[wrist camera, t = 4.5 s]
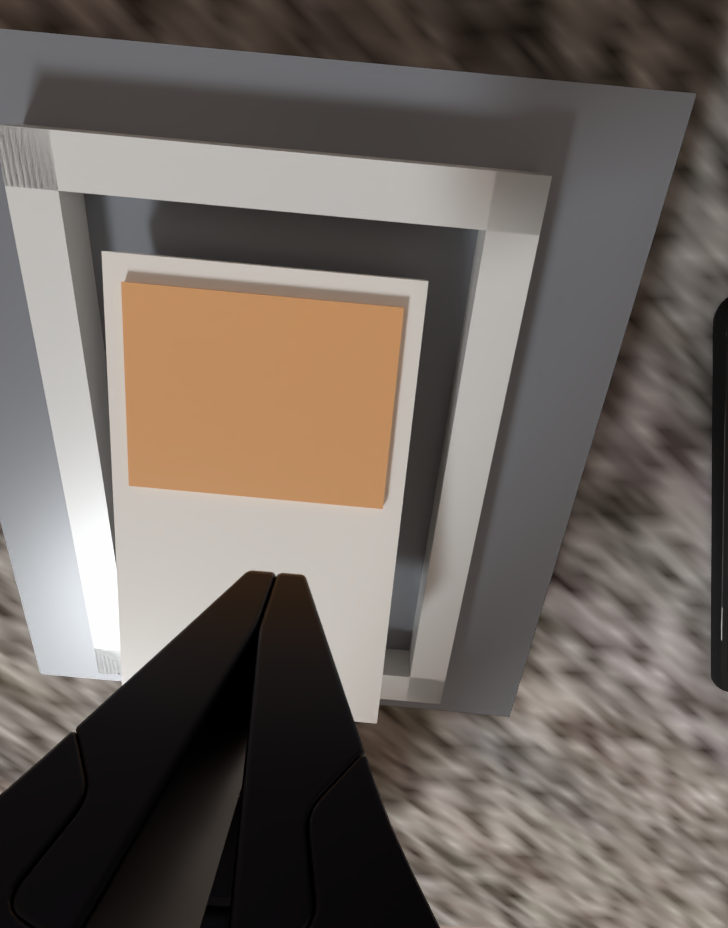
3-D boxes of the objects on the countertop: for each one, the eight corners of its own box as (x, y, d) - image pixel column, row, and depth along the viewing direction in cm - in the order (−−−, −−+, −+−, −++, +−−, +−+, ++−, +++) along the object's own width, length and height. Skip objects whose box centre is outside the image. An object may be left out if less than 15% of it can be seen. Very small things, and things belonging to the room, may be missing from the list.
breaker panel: (495, 646, 22) (515, 750, 18) (82, 608, 22) (19, 705, 18) (638, 99, 14) (729, 90, 10) (-30, 37, 14) (-188, 4, 10)
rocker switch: (377, 689, 15) (376, 728, 14) (141, 668, 15) (119, 704, 14) (424, 279, 12) (429, 281, 11) (127, 252, 12) (97, 251, 11)
